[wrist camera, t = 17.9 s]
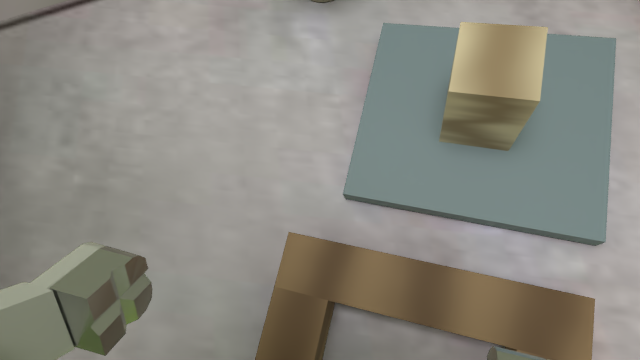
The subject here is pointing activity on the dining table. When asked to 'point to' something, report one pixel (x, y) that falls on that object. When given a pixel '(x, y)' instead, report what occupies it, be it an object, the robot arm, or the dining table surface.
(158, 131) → the dining table surface
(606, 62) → the slate pad
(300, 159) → the dining table surface
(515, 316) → the pocket block
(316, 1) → the coffee cup
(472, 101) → the maple peg
